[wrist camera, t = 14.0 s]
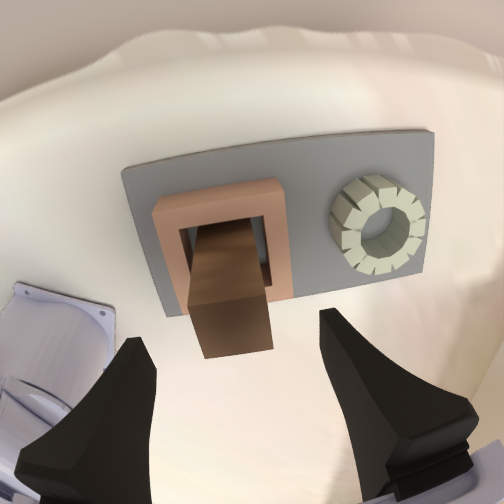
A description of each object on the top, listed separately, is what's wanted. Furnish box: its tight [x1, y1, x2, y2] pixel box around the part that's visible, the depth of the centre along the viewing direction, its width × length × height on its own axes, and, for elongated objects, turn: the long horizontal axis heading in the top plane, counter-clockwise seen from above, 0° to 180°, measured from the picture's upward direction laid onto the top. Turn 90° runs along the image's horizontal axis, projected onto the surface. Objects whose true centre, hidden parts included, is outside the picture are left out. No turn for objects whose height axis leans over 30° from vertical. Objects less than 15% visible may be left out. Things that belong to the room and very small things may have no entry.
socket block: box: [121, 130, 434, 317], centre depth 20 cm, size 20×11×4 cm, turn 98°
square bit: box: [187, 217, 274, 359], centre depth 17 cm, size 3×3×8 cm
